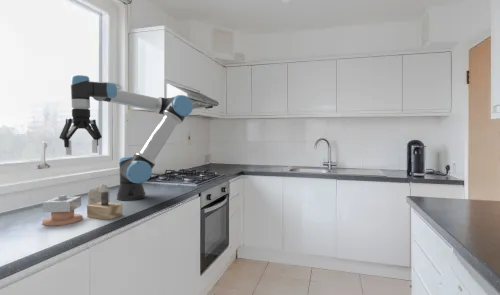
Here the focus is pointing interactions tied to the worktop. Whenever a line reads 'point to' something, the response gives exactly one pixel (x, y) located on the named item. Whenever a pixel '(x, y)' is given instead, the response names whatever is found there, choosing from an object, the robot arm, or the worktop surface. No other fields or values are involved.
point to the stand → (104, 209)
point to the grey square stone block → (62, 204)
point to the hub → (62, 216)
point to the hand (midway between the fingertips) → (82, 153)
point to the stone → (97, 194)
